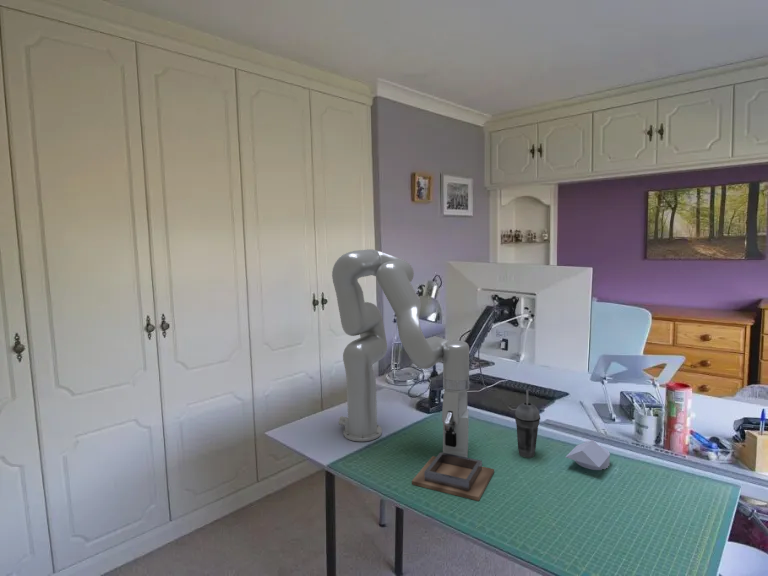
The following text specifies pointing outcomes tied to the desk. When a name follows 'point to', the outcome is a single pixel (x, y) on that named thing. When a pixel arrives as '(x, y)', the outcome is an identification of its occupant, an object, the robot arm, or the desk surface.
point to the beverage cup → (527, 428)
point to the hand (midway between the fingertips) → (455, 439)
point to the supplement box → (459, 437)
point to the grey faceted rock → (590, 456)
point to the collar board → (454, 476)
